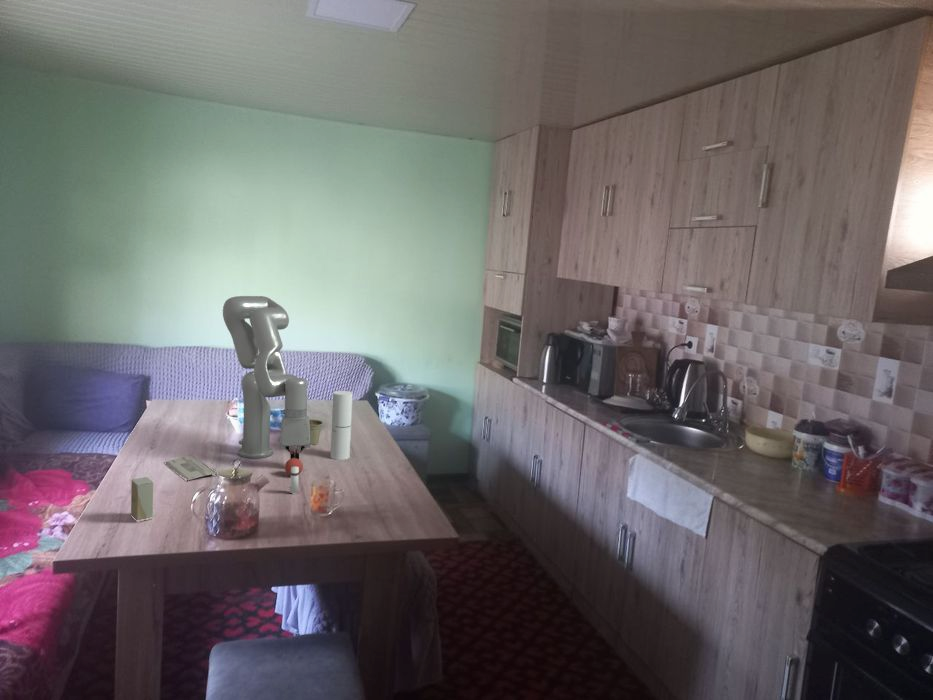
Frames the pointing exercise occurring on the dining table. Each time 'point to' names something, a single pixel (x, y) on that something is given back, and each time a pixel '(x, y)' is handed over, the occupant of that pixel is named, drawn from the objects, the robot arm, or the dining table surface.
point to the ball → (292, 463)
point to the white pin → (294, 479)
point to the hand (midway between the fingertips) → (294, 463)
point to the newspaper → (190, 467)
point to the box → (141, 498)
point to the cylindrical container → (341, 425)
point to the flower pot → (315, 431)
